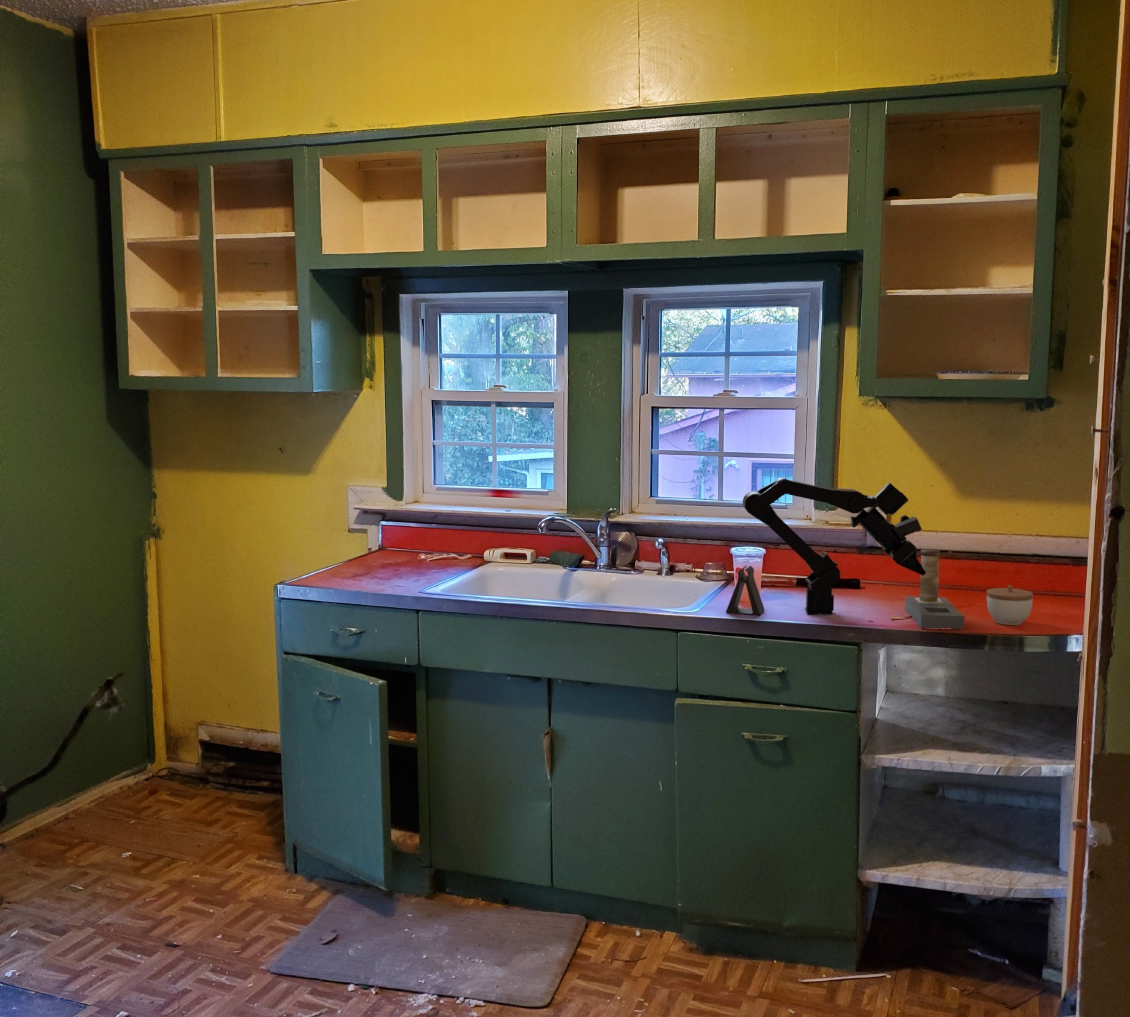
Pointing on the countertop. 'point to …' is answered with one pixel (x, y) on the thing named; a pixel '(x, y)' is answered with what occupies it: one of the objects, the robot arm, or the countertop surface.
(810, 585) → the robot arm
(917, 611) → the grey slotted base
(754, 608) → the dark a-frame stand
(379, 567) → the countertop surface
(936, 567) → the maple plug
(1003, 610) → the lidded jar
